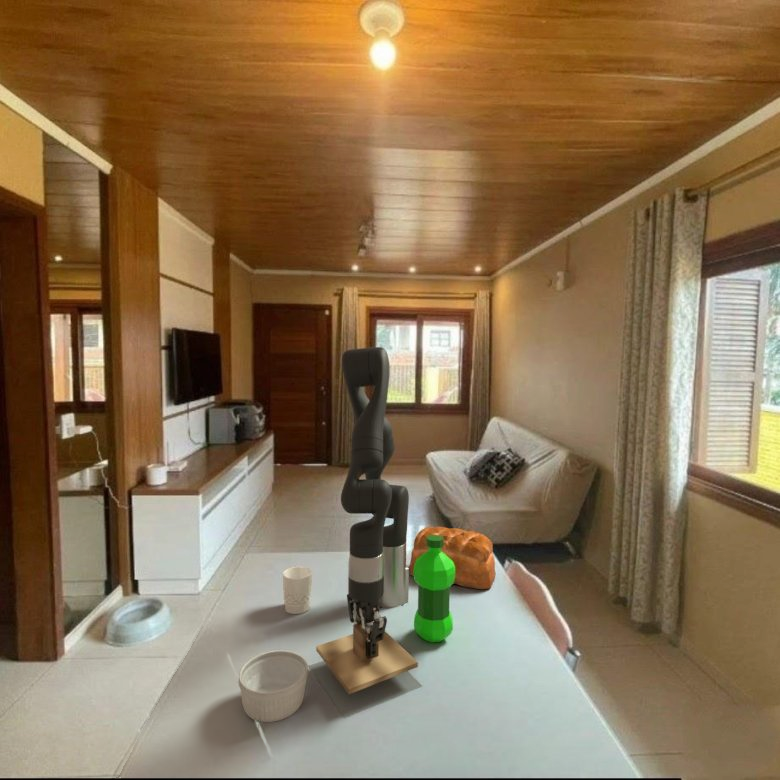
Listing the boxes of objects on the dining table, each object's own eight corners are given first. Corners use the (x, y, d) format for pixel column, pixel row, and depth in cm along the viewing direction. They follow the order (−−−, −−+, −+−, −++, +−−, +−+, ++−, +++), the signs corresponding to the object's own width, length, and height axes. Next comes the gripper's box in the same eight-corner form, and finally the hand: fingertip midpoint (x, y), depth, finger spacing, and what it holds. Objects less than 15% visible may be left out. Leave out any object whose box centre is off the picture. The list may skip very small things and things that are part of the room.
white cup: (276, 611, 129) (276, 575, 128) (293, 598, 136) (293, 564, 136) (301, 618, 126) (302, 581, 125) (317, 604, 133) (317, 569, 133)
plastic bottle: (403, 638, 117) (405, 538, 116) (430, 621, 125) (432, 527, 124) (436, 655, 110) (438, 549, 109) (462, 636, 118) (464, 537, 117)
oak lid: (379, 629, 113) (379, 600, 113) (417, 666, 100) (418, 634, 99) (316, 650, 105) (316, 619, 104) (348, 694, 91) (349, 659, 91)
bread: (490, 593, 141) (491, 542, 140) (405, 578, 151) (406, 530, 150) (497, 574, 154) (498, 527, 153) (419, 561, 164) (419, 517, 163)
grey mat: (379, 644, 114) (379, 642, 114) (422, 688, 99) (422, 685, 99) (308, 668, 105) (308, 665, 105) (343, 720, 90) (343, 717, 90)
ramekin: (272, 740, 85) (272, 702, 85) (223, 711, 92) (223, 676, 92) (321, 697, 96) (321, 663, 96) (274, 674, 103) (274, 642, 103)
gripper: (399, 582, 97) (398, 663, 98) (365, 557, 109) (365, 629, 110) (366, 591, 93) (366, 675, 94) (335, 564, 105) (335, 639, 106)
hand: (365, 650), depth 102 cm, fingers closed on oak lid, 4 cm apart
